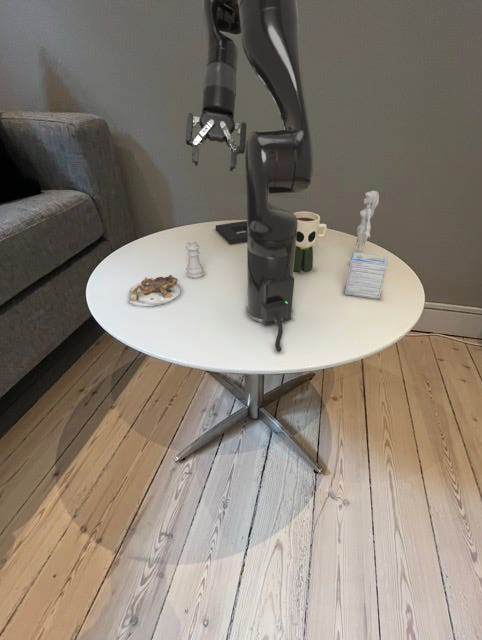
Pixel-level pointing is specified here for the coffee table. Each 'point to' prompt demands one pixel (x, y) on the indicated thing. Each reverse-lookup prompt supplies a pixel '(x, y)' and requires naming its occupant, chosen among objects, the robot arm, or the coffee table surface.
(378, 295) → the medicine box
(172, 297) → the frog figurine
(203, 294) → the coffee table surface
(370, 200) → the human figurine
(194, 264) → the rook chess piece
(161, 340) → the coffee table surface
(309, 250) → the character mug
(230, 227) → the socket pad
